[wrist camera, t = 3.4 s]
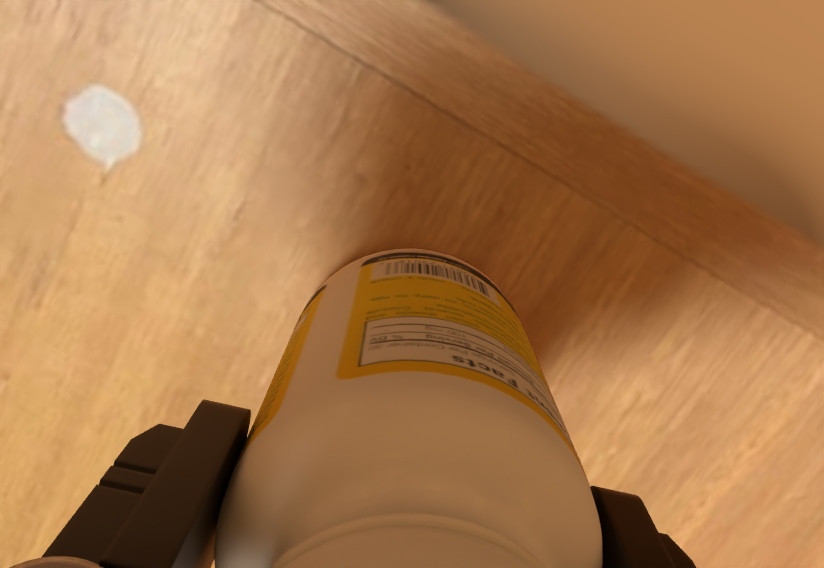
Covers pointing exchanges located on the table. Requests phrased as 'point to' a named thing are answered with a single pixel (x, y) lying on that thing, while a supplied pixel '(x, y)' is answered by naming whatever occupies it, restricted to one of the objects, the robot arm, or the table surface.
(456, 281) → the supplement bottle
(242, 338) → the table surface
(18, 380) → the table surface
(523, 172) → the table surface
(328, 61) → the table surface
